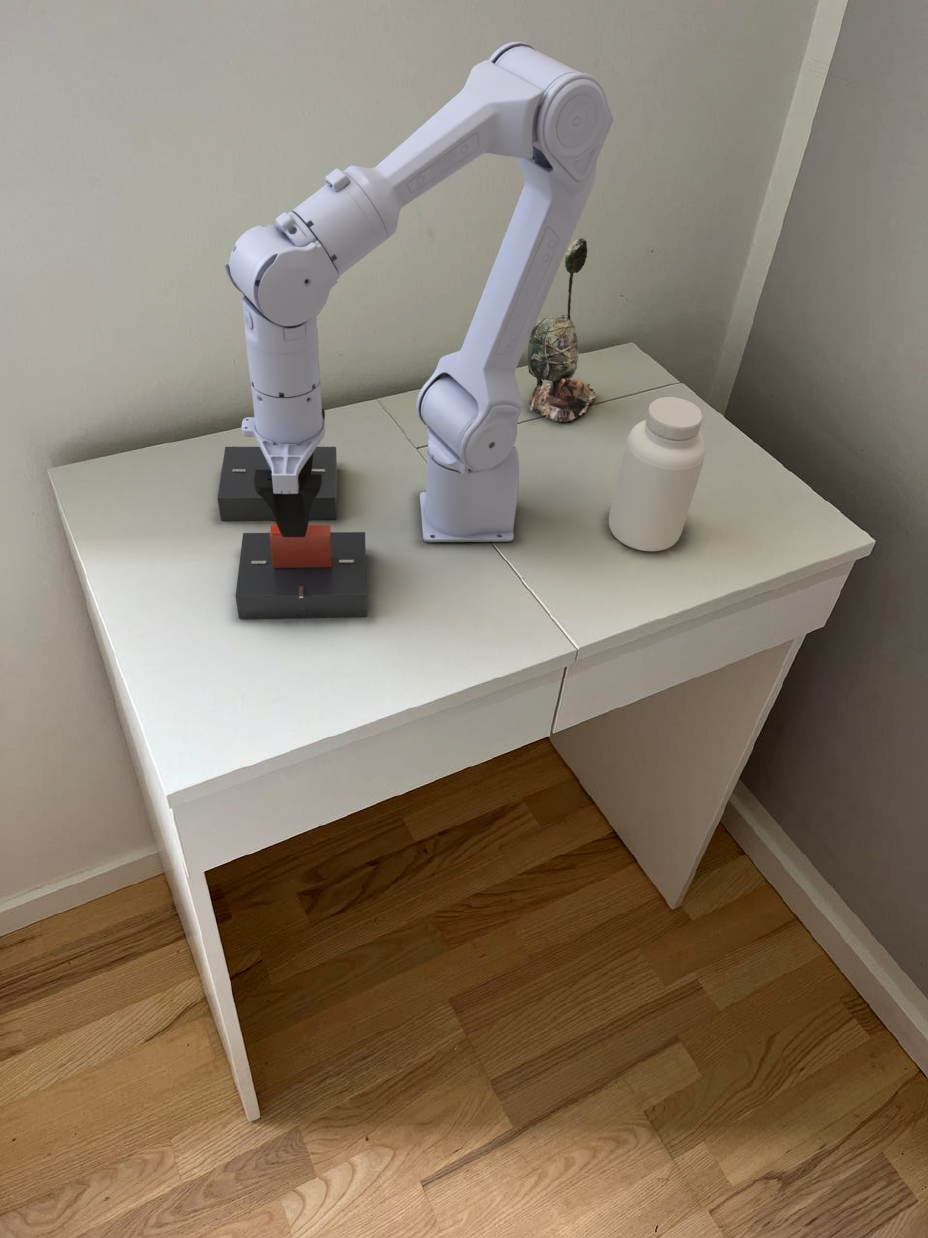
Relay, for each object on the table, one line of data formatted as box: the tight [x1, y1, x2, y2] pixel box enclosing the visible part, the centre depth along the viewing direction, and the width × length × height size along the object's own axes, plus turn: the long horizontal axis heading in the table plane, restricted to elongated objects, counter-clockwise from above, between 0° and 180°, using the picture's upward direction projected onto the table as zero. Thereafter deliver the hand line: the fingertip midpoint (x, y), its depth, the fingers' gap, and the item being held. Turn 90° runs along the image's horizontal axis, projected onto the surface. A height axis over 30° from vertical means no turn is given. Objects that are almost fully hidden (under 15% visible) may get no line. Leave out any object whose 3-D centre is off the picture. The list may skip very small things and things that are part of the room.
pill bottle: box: [608, 396, 707, 552], centre depth 97 cm, size 8×8×15 cm
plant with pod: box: [527, 237, 597, 423], centre depth 111 cm, size 8×11×20 cm
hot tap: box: [269, 523, 332, 568], centre depth 89 cm, size 6×2×4 cm, turn 95°
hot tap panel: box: [235, 531, 368, 620], centre depth 92 cm, size 12×10×3 cm
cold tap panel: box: [217, 446, 338, 521], centre depth 102 cm, size 12×10×3 cm
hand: (295, 507), depth 88 cm, fingers open, 7 cm apart
